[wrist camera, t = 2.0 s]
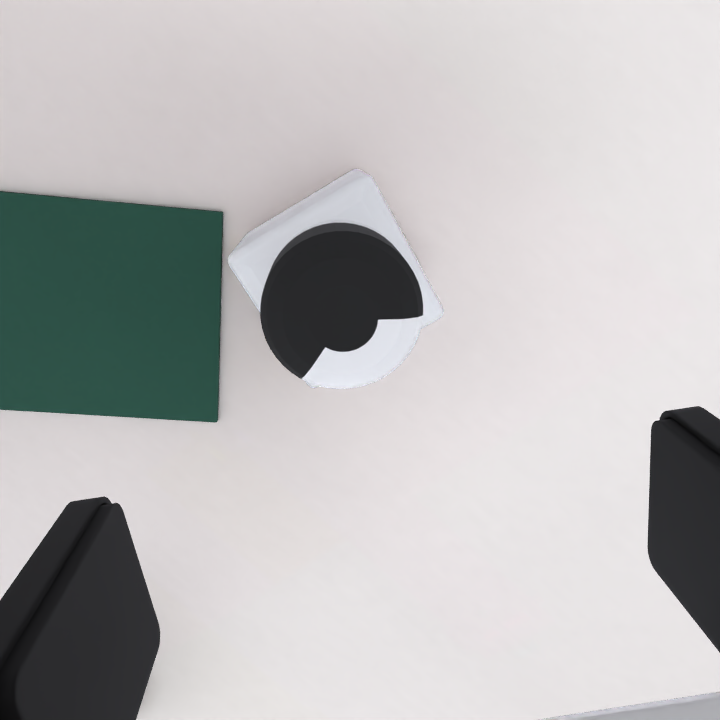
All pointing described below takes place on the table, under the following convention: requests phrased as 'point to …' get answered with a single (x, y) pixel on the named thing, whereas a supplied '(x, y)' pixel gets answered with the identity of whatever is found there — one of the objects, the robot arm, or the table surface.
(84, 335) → the cutting mat
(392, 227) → the medicine bottle
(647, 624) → the table surface
